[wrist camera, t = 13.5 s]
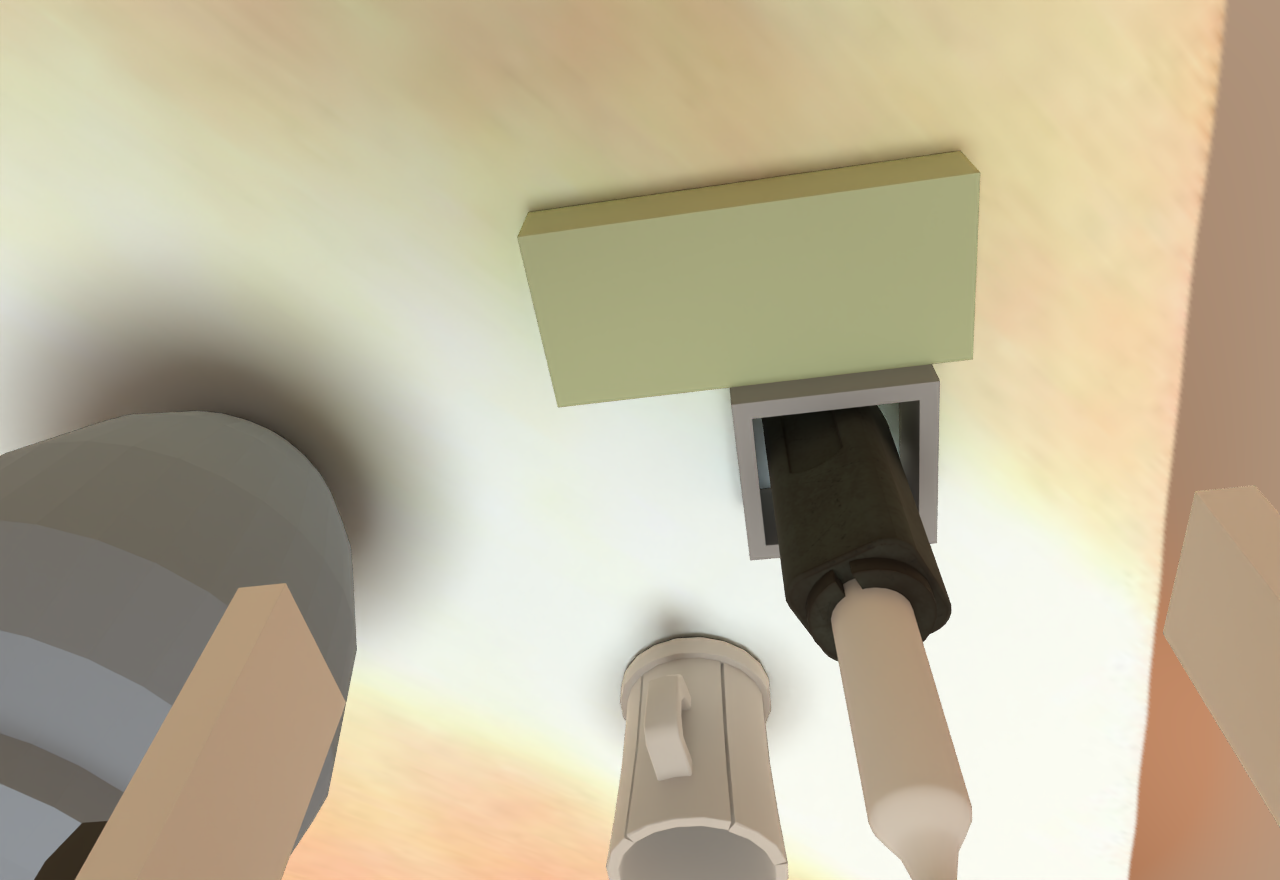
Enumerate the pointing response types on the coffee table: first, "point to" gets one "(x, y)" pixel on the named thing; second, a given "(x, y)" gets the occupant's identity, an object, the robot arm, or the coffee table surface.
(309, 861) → the coffee table surface
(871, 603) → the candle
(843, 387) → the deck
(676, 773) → the cup
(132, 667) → the vase
